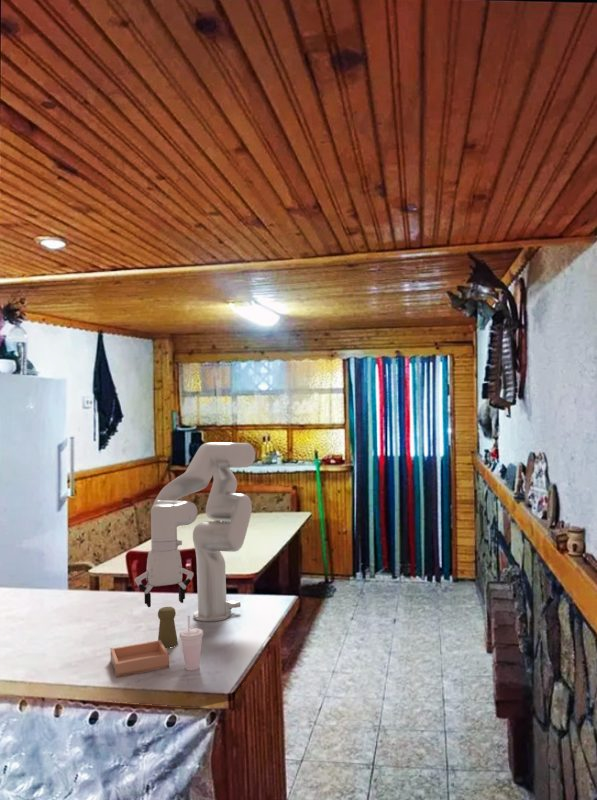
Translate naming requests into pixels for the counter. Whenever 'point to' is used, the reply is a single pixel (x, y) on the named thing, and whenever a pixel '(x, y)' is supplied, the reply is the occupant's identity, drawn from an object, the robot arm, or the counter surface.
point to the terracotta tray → (139, 658)
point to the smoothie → (191, 646)
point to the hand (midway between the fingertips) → (165, 603)
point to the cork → (167, 627)
